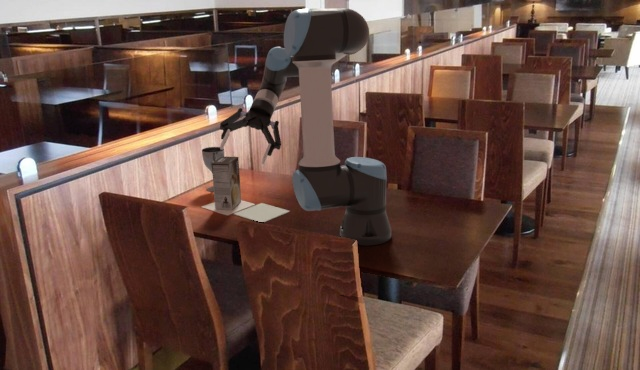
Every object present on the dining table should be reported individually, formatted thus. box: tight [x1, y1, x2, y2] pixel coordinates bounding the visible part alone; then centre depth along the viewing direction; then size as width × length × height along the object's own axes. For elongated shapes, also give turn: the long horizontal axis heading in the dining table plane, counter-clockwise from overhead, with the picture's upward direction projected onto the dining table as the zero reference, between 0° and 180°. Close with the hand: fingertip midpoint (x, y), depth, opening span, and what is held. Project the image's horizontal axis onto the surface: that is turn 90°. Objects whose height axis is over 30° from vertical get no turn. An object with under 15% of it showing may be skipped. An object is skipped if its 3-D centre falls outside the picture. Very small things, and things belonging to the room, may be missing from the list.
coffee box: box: [211, 156, 242, 210], centre depth 200 cm, size 9×6×16 cm
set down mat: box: [233, 202, 291, 223], centre depth 195 cm, size 13×13×1 cm
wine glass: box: [201, 146, 225, 193], centre depth 218 cm, size 8×8×15 cm
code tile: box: [201, 199, 257, 216], centre depth 202 cm, size 13×13×1 cm
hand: (242, 154), depth 184 cm, fingers open, 13 cm apart
